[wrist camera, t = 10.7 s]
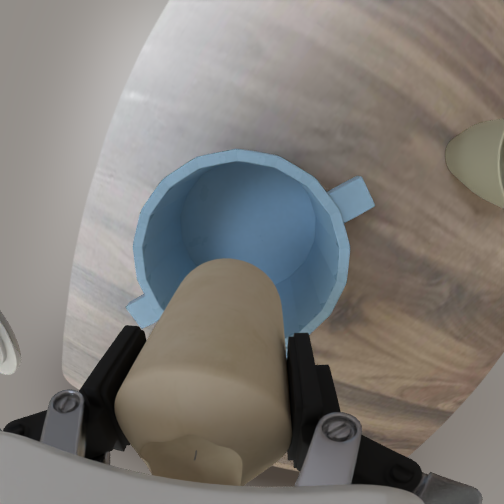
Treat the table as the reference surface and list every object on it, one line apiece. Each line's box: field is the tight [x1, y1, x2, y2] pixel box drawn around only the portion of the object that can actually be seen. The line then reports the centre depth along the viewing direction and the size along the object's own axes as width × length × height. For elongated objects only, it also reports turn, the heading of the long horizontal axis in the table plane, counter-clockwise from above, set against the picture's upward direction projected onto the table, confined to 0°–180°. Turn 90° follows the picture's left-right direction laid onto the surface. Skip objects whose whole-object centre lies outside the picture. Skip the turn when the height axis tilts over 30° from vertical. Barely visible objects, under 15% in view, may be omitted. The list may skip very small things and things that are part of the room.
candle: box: [114, 258, 292, 486], centre depth 11 cm, size 6×6×10 cm
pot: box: [126, 149, 375, 347], centre depth 27 cm, size 16×21×12 cm
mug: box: [445, 119, 504, 209], centre depth 23 cm, size 11×10×12 cm
